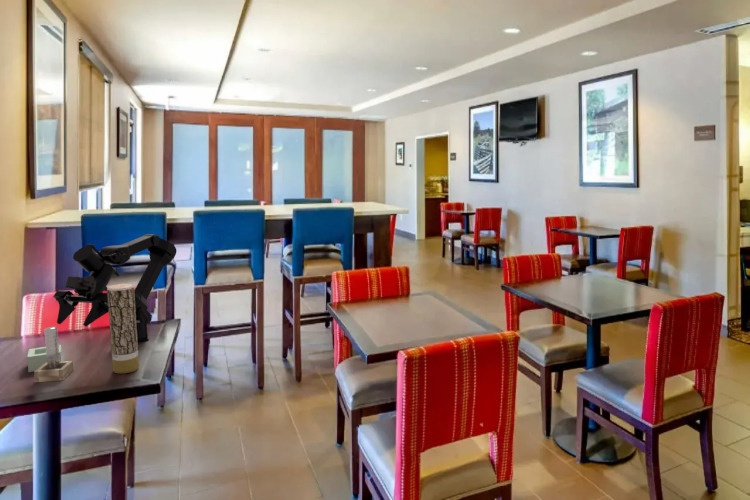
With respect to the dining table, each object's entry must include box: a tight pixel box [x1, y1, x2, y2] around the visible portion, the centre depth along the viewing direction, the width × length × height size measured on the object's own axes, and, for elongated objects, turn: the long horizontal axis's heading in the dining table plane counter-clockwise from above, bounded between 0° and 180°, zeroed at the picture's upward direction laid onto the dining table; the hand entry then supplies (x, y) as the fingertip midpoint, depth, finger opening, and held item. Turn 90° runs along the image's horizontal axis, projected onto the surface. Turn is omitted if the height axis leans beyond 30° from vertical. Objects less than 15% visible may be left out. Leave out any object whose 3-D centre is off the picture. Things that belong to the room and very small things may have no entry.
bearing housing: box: [33, 360, 74, 383], centre depth 134 cm, size 7×7×3 cm
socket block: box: [26, 344, 63, 373], centre depth 142 cm, size 8×8×4 cm
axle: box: [43, 326, 61, 370], centre depth 133 cm, size 3×3×14 cm
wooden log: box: [106, 283, 140, 375], centre depth 137 cm, size 7×7×25 cm
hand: (71, 324), depth 139 cm, fingers open, 9 cm apart
